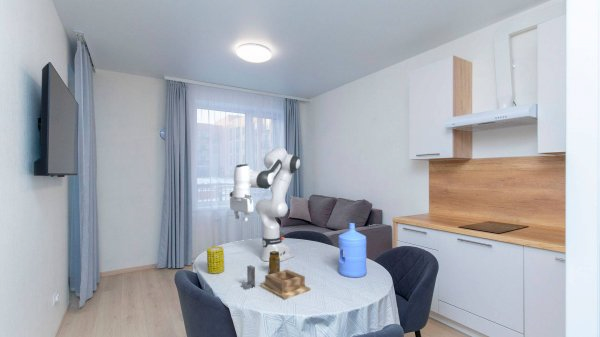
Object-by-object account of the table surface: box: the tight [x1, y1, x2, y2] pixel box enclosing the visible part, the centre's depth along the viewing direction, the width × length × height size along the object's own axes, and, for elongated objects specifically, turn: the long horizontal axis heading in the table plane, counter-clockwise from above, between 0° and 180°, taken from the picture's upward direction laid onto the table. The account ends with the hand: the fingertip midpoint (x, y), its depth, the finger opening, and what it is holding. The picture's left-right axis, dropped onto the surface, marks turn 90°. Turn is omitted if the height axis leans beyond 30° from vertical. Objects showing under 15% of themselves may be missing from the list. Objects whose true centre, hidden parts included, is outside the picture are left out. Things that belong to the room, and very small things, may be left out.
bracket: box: [241, 264, 256, 290], centre depth 145 cm, size 5×4×10 cm
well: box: [259, 268, 311, 301], centre depth 144 cm, size 16×20×6 cm
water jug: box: [338, 222, 368, 278], centre depth 165 cm, size 16×16×28 cm
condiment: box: [266, 251, 281, 275], centre depth 164 cm, size 7×8×12 cm
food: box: [206, 245, 225, 275], centre depth 168 cm, size 15×12×10 cm
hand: (241, 219), depth 156 cm, fingers open, 8 cm apart
